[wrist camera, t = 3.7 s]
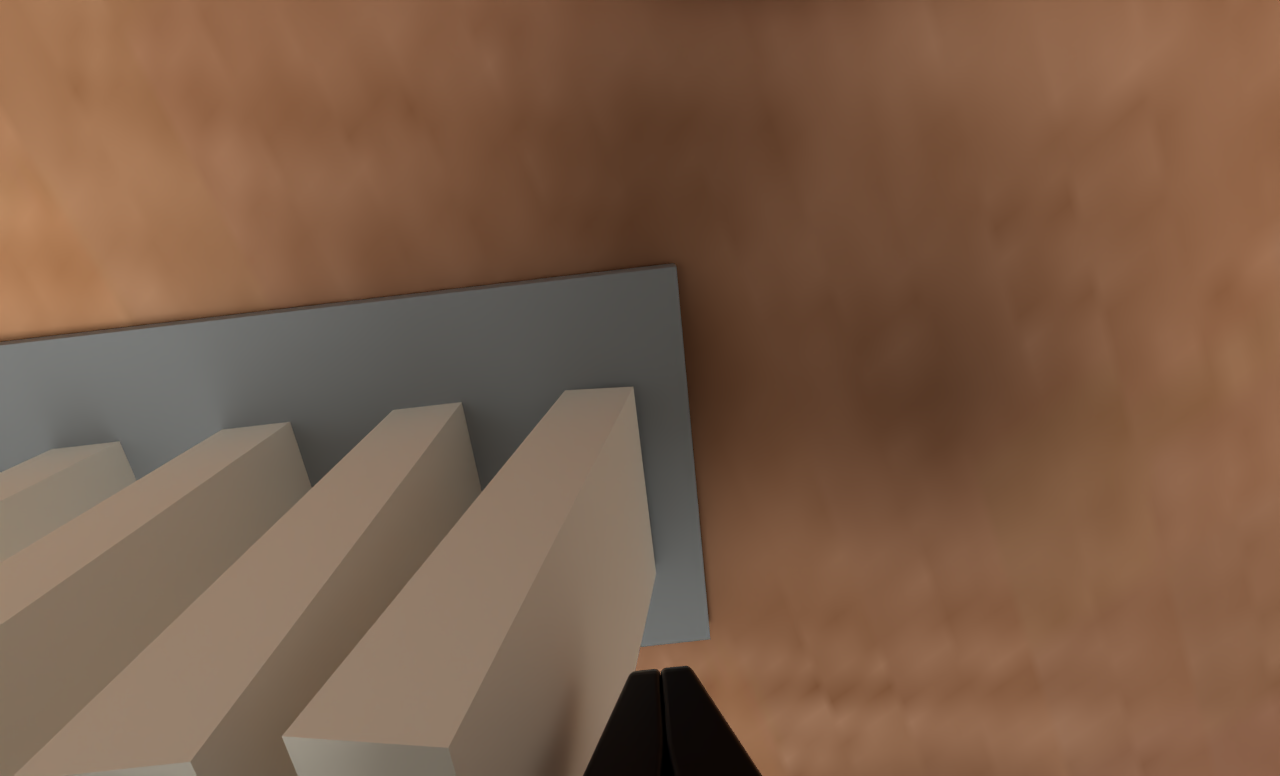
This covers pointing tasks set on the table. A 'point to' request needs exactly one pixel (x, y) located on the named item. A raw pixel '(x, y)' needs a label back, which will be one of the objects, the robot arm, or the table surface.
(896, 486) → the table surface
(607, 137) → the table surface
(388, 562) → the domino
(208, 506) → the domino
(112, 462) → the domino
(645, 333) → the mat
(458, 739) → the domino
